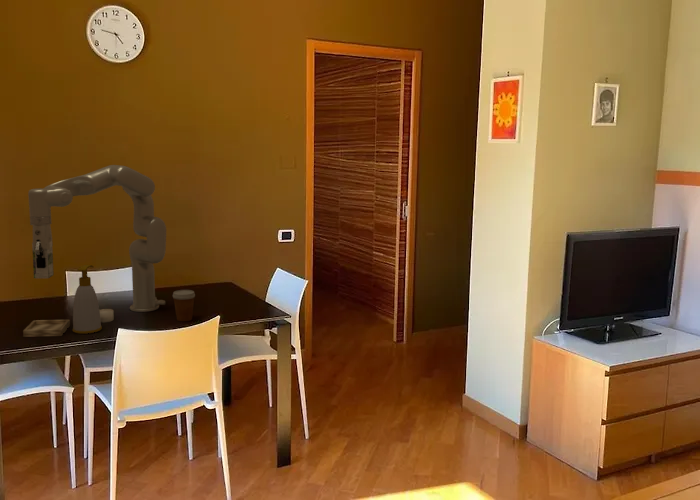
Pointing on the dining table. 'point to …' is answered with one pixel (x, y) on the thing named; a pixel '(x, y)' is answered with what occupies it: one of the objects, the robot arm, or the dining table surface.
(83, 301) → the soap bottle
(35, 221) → the robot arm
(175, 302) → the disposable coffee cup
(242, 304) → the dining table surface
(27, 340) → the dining table surface
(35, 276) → the syrup box
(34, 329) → the tray
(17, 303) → the dining table surface
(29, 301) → the dining table surface
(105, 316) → the cream dome
